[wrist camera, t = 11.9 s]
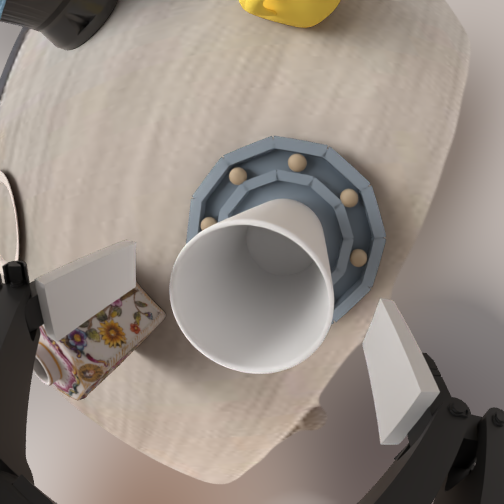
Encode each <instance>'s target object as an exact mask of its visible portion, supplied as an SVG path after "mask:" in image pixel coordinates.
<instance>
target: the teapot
mask: <svg viewBox="0 0 504 504" xmlns="http://www.w3.org/2000/svg"><path fill="white" fill-rule="evenodd" d="M239 2H240V4H241V6H242V8H243V9H244V10H245V11H247V12H249V13H251V14H253V15H256V16H258V17H261V18H264V19H268V20H271V21H274V22H278V23H282V24H286V25H290V26H295V27H301V28H307V27H311V26H314V25H316V24H318V23H320V22H321V21H322V20H324V19H325V18H326V17H327V16H329V15H330V14H331V13H332V12H333V11H334V10H335V8H336V7H337V6H338V4H339V2H340V0H239Z"/></svg>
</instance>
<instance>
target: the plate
mask: <svg viewBox="0 0 504 504" xmlns="http://www.w3.org/2000/svg"><path fill="white" fill-rule="evenodd" d="M0 183H4V184H5V185H6V186H7V188H8V190H9V193H10V195H11V198H12V202H13V207H14V212H15V218H16V228H17V251H16V257H15V260H14V261H18V260H19V225H18V216H17V210H16V205H15V201H14V197H13V193H12V190H11V187H10V184H9V181H8V179H7V177H6V176H5V174H4V173H3V172H2V171H0ZM6 263H7V262H6V261H5V260H4V259H3V258H2V257H1V255H0V273H1V274H2V275H3V276H4V274H3V268H2V266H3V265H4V264H6Z"/></svg>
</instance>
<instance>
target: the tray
mask: <svg viewBox="0 0 504 504" xmlns="http://www.w3.org/2000/svg"><path fill="white" fill-rule="evenodd" d="M327 146H328V145H323V144H318V143H313V142H308V141H303V140H297V139H291V138H285V137H279V136H274V138H273V137H272V136H270V137H268V138H265V139H262V140H260V141H257V142H255V143H252V144H250V145H247V146H245V147H242V148H240V149H237V150H235V151H232V152H230V153H228V154H225V155H223V156H224V157H221V158H220V159H219V161H218V162H217V163H216V165H215V166H214V167H213V169H212V170H211V171H210V173H209V174H208V175H207V177H206V178H205V179H204V181H203V182H202V183H201V185H200V186H199V187H198V189H197V190H196V192H195V193H194V194H193V196H192V197H193V198H192V199H191V205H190V213H189V222H188V231H187V241H186V244H187V243H188V242H189V241H190V240H191V239H192V238H194V237H195V236H196V235H197V234H198V233H200V232H201V231H202V229H201V222H202V220H203V219H204V218H206V217H212V218H214V219H215V220H216V221H217V223H218V222H221V221H223V220H225V219H227V218H230V217H232V216H234V215H237V214H239V213H242V212H244V211H246V210H249V209H251V208H254V207H256V206H258V205H261V204H263V203H266V202H268V201H271V200H275V199H283V198H284V199H292V200H296V201H299V202H301V203H303V204H305V205H306V206H308V207H309V208H310V209H311V210H312V211H313V212H314V213H315V214H316V216H317V217H318V219H319V220H320V223H321V225H322V228H323V232H324V237H325V243H326V248H327V254H328V259H329V265H330V271H331V277H332V284H333V291H334V312H333V318H332V322H331V324H333V323H334V321H335V322H337V321H338V320H339V319H340V318H341V317H342V316H343V315H344V314H346V313H347V312H348V311H349V310H350V309H351V308H352V307H353V306H354V305H355V304H356V303H357V302H358V301H360V300H361V299H362V298H363V297H364V296H365V295H366V294H367V293H368V292H369V291H370V290H371V289H370V287H372V286H373V283H374V280H375V277H376V274H377V270H378V267H379V264H380V260H381V257H382V253H383V249H384V246H385V242H386V239H385V238H384V237H386V234H385V230H384V226H383V222H382V219H381V215H380V211H379V208H378V204H377V201H376V197H375V194H374V191H373V188H372V186H369V185H370V182H369V181H367V180H366V179H365V178H364V177H363V176H362V175H361V174H360V173H359V172H358V171H357V170H356V169H355V168H354V167H353V166H351V165H350V164H349V163H348V162H347V161H346V160H345V159H344V158H343V157H341V156H340V155H339V154H338V153H337V152H336V151H335V150H333V149H332V148H331V147H329V148H328V149H327ZM293 154H301V155H303V156H304V157H305V159H306V161H307V165H306V168H305V169H304V170H303V171H301V172H294V171H292V170H291V169H290V168H289V166H288V159H289V157H290V156H291V155H293ZM236 167H240V168H243V169H244V170H245V171H246V173H247V179H246V181H244V182H243V184H242V183H241V184H240V185H235V184H233V183H232V182H231V181H230V179H229V173H230V171H231V170H232V169H234V168H236ZM345 189H352V190H354V191H355V192H356V193H357V194H358V202H357V204H356V205H355V206H354V207H345V206H344V204H343V203H342V201H341V200H340V195H341V193H342V191H344V190H345ZM355 249H362V250H364V251H365V253H366V254H367V261H366V263H365V264H364V265H363V266H361V267H356V266H354V265H352V263H351V262H350V254H351V252H352V251H353V250H355Z"/></svg>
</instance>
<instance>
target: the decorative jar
mask: <svg viewBox="0 0 504 504" xmlns="http://www.w3.org/2000/svg"><path fill="white" fill-rule="evenodd" d="M165 316H166V315H165V313H164V311H163V310H162V309H161V308H160V307H159V306H158V305H157V304H156V303H155V302H154V301H153V300H152V299H151V298H150V297H149V296H148V295H147V294H146V293H145V292H144V291H143V289H142V288H141V287H140V286H139V284H138V283H137V282H136V287H135V288H133V289H132V290H130V291H129V292H127V293H126V294H124V295H123V296H122V297H120V298H119V299H117V300H116V301H114V302H113V303H111V304H110V305H108V306H107V307H106V308H104V309H103V310H101V311H100V312H98V313H97V314H96V315H94V316H93V317H91V318H90V319H88V320H87V321H86V322H84V323H83V324H81V325H80V326H79V327H77V328H76V329H74V330H73V331H72V332H70V333H69V334H67V335H66V336H65V337H63V338H62V339H61V340H59V341H58V342H56V341H54V340H53V339H51V338H50V337H48V336H47V334H46V330H45V327H44V324H43V325H42V326H40V327H39V328H40V332H41V335H40V339H39V343H38V348H37V352H36V357H35V362H34V367H33V371H34V373H35V374H36V375H37V377H38V378H39V379H40V380H41V381H42V382H43V383H44V384H46V385H48V386H49V385H51V384H53V385H54V386H55V387H56V388H57V389H58V390H60V391H61V392H63V393H64V394H66V395H67V396H69V397H71V398H73V399H75V400H81V399H84V398H85V397H87V395H88V394H89V393H90V392H91V391H93V390H94V389H95V388H96V387H97V386H98V385H99V384H100V383H101V382H102V381H103V380H104V379H105V378H106V377H107V376H108V375H109V374H110V373H112V372H113V371H114V370H115V369H116V368H117V367H118V366H119V365H120V364H121V363H122V362H123V361H124V360H125V359H126V358H127V357H128V356H129V355H130V354H131V353H132V352H133V351H134V350H135V349H136V348H137V347H138V346H139V345H140V344H141V343H142V342H143V341H144V340H145V339H146V338H147V336H148V335H149V334H150V333H151V332H152V331H153V330H154V329H155V328H156V327H157V326H158V325H159V324H160V323H161V322H162V321H163V320H164V318H165Z"/></svg>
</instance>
